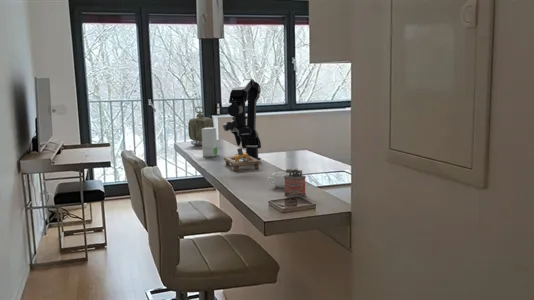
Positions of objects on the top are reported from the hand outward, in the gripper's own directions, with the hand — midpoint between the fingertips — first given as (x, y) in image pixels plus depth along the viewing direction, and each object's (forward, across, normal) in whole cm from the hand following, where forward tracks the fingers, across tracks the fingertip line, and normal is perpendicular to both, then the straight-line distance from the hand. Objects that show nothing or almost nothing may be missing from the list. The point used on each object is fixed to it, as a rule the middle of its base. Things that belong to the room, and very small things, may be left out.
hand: (240, 146), depth 245 cm
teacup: (+10, +49, +2) cm, 50 cm away
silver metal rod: (+6, 0, 0) cm, 6 cm away
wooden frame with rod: (+10, 0, 0) cm, 10 cm away
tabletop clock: (+10, -84, -4) cm, 85 cm away
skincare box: (+10, -42, -7) cm, 44 cm away
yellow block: (+8, 0, +1) cm, 8 cm away
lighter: (+10, +65, +3) cm, 66 cm away
